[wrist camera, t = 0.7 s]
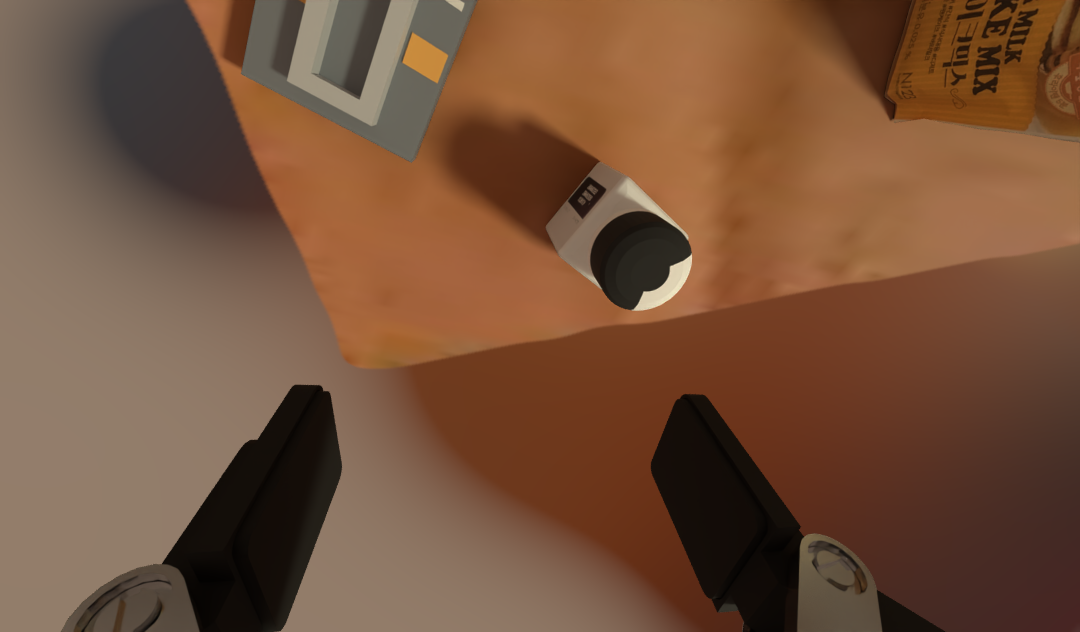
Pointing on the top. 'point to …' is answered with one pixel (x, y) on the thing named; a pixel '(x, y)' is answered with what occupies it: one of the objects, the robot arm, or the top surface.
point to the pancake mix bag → (991, 66)
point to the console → (360, 61)
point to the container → (621, 240)
